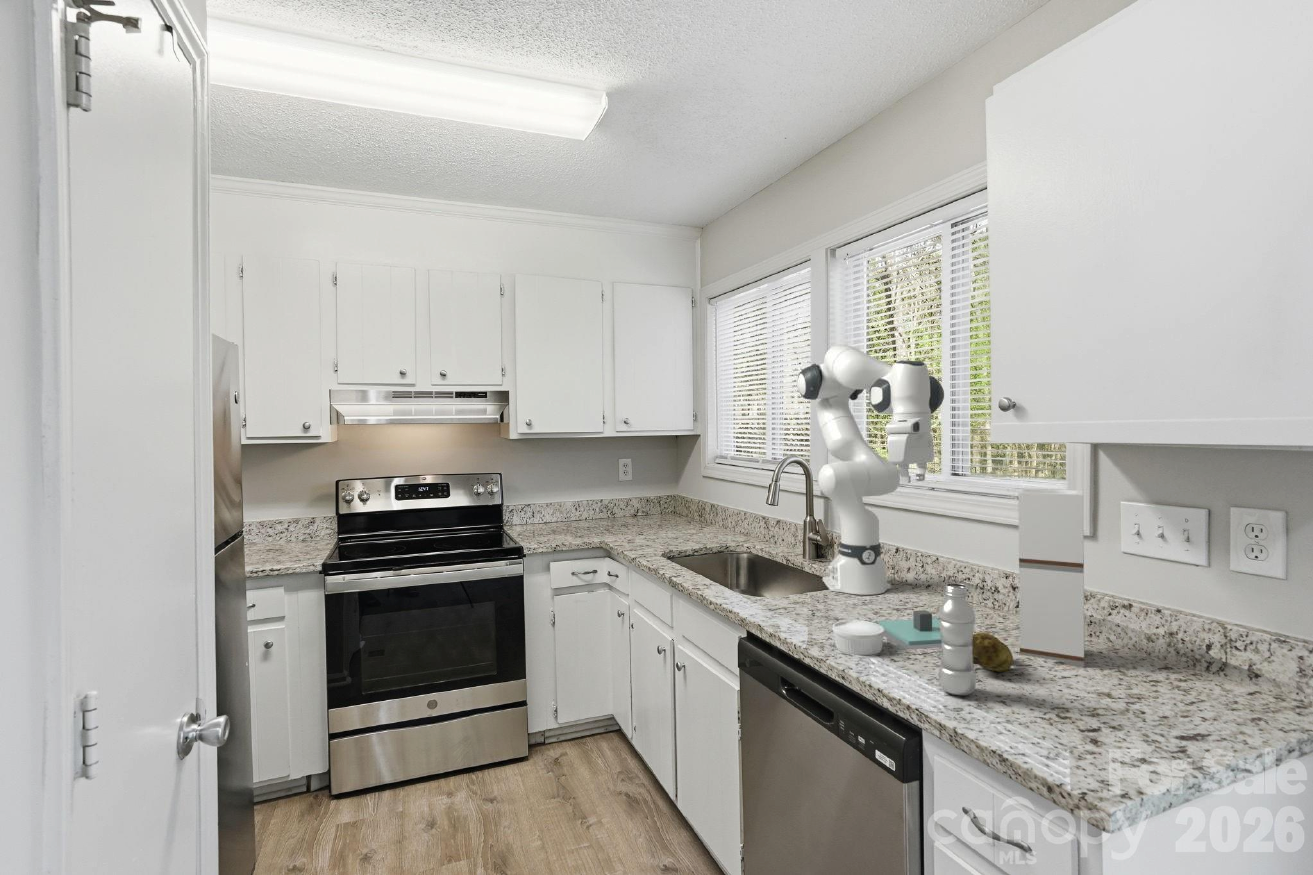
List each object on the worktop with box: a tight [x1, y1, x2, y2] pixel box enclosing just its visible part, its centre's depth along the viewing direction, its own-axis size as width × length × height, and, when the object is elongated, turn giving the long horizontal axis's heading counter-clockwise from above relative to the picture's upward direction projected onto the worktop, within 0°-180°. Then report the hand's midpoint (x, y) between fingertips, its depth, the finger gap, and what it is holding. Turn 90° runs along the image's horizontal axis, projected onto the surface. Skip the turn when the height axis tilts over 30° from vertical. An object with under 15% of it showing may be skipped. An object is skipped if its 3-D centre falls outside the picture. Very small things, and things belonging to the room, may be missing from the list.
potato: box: [972, 632, 1014, 673], centre depth 133 cm, size 8×13×8 cm, turn 117°
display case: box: [1017, 487, 1086, 668], centre depth 141 cm, size 11×11×35 cm
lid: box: [877, 609, 942, 645], centre depth 155 cm, size 15×15×5 cm
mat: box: [871, 617, 942, 651], centre depth 155 cm, size 20×20×1 cm
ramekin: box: [832, 619, 885, 657], centre depth 146 cm, size 11×11×5 cm
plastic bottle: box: [937, 582, 977, 696], centre depth 122 cm, size 6×7×20 cm
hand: (913, 482), depth 161 cm, fingers open, 8 cm apart
